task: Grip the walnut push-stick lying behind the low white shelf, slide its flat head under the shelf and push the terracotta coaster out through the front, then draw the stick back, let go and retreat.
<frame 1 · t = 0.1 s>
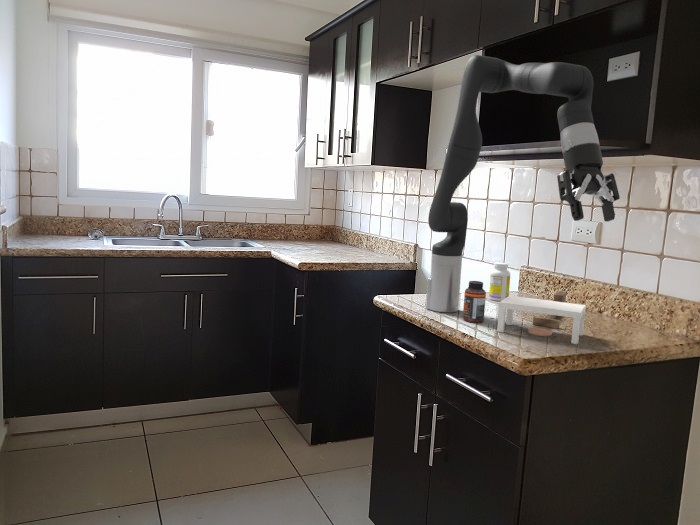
hand: (594, 220, 119), 31 cm above the worktop, tool tilted 20°, fingers open, 8 cm apart
white shelf: (540, 333, 150), on the worktop
walnut push stick: (558, 311, 180), on the worktop
supplement bottle 2: (473, 321, 161), on the worktop
terracotta coaster: (539, 334, 150), on the worktop
supplement bottle: (498, 300, 196), on the worktop
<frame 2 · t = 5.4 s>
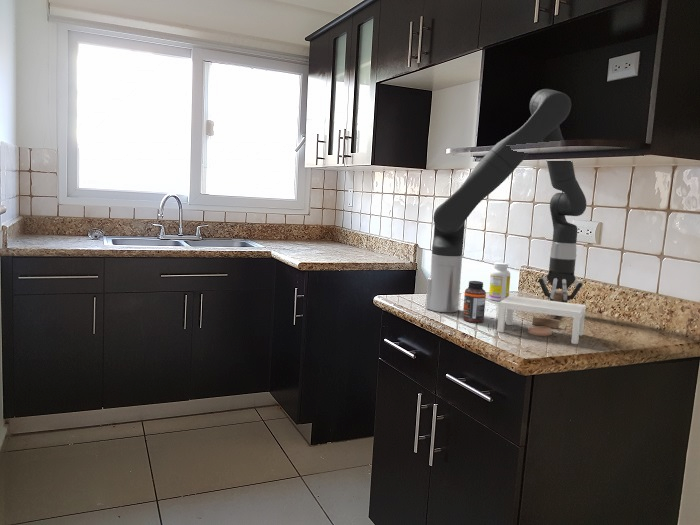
hand: (557, 310, 178), 1 cm above the worktop, tool pointing down, fingers closed on walnut push stick, 2 cm apart
walnut push stick: (558, 311, 180), on the worktop, touching gripper
everything else where it was.
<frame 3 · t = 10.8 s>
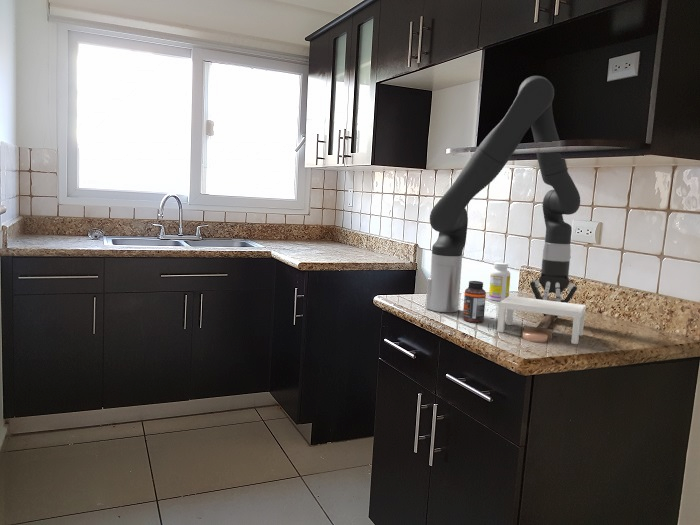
hand: (550, 316, 166), 1 cm above the worktop, tool pointing down, fingers closed on walnut push stick, 2 cm apart
walnut push stick: (551, 319, 168), on the worktop, touching gripper
terracotta coaster: (534, 339, 143), on the worktop
everything else where it was.
when the fingers open (1 cm above the worktop, at t = 14.3 s): walnut push stick stays where it is, on the worktop.
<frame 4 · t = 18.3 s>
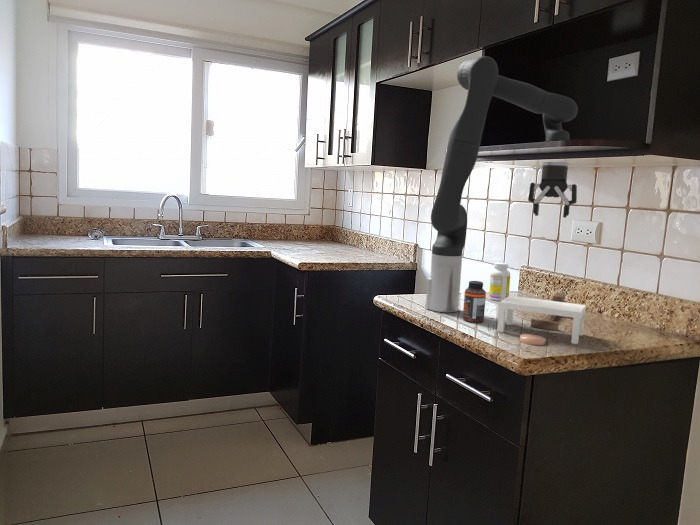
hand: (550, 216, 178), 30 cm above the worktop, tool pointing down, fingers open, 8 cm apart
walnut push stick: (557, 313, 177), on the worktop
terracotta coaster: (532, 343, 140), on the worktop
everything else where it was.
at the end: terracotta coaster inside the target area (3.2 cm from its centre), on the worktop; terracotta coaster tilted 1°; the gripper is holding nothing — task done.
